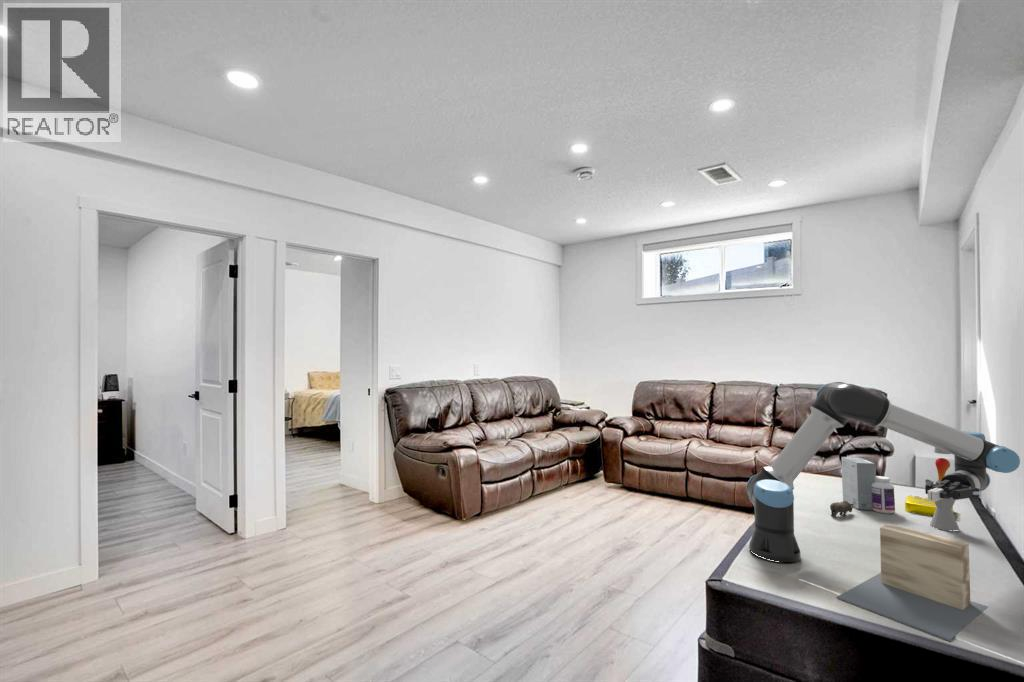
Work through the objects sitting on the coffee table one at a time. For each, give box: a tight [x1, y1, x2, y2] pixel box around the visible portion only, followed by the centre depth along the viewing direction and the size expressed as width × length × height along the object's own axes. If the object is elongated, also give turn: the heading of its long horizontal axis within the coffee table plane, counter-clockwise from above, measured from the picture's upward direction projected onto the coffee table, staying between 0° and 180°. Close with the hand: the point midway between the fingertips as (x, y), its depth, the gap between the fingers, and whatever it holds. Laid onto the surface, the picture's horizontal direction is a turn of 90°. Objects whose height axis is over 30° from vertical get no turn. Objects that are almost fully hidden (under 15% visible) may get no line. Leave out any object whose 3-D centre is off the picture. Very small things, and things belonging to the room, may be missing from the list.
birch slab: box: [879, 523, 971, 610], centre depth 136 cm, size 6×18×16 cm, turn 32°
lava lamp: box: [929, 447, 960, 531], centre depth 188 cm, size 9×9×35 cm
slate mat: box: [836, 572, 989, 642], centre depth 131 cm, size 28×24×1 cm
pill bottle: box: [871, 475, 896, 515], centre depth 207 cm, size 8×8×14 cm
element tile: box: [904, 494, 954, 517], centre depth 208 cm, size 15×15×5 cm
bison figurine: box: [829, 500, 854, 519], centre depth 202 cm, size 4×14×6 cm, turn 112°
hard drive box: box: [840, 456, 877, 511], centre depth 216 cm, size 16×8×20 cm, turn 168°
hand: (931, 496), depth 140 cm, fingers closed
